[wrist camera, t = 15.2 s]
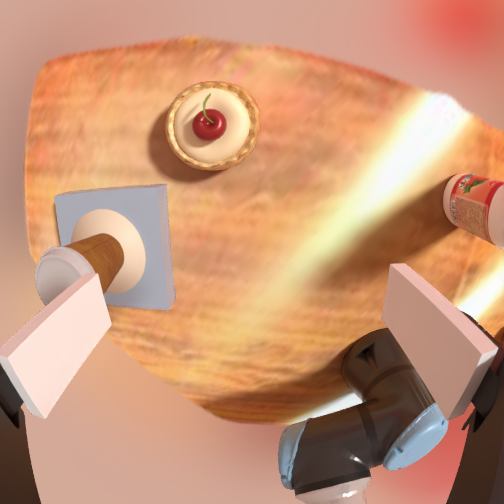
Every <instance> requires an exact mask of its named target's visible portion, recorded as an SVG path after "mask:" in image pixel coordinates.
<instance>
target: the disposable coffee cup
mask: <svg viewBox="0 0 504 504" xmlns="http://www.w3.org/2000/svg"><path fill="white" fill-rule="evenodd" d="M123 263H124V252H123V249H122V247H121V245H120V243H119V242H118V241H117V239H116V238H114V237H113V236H111V235H109V234H106V233H100V234H97V235H94V236H91V237H88V238H85V239H82V240H80V241H77V242H74V243H71V244H69V245H66V246H63V247H61V246H57V247H52V248H50V249H48V250H47V251H45V252H44V253H43V255H42V256H41V258H40V261H39V262H38V264H37V267H36V270H35V282H36V287H37V291H38V293H39V295H40V297H41V300H42V301H43V303H44V304H45V306H47V305H48V304H49V303H50V302H51V301H53V300H54V299H55V298H56V297H57V296H58V295H60V294H61V293H62V292H63V291H64V290H66V289H67V288H68V287H69V286H71V285H72V284H73V283H74V282H75V281H77V280H78V279H79V278H80V277H82V276H83V275H84V274H86V273H98V275H99V280H100V284H101V288H102V292H103V295H104V294H105V292H106V291H107V289H108V288H109V286H110V284H111V283H112V281H113V280H114V278H115V277H116V275H117V274H118V272H119V270H120V269H121V268H122V266H123Z"/></svg>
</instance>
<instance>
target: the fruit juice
mask: <svg viewBox="0 0 504 504" xmlns="http://www.w3.org/2000/svg"><path fill="white" fill-rule="evenodd" d="M443 208H444V212H445V214H446V216H447V218H448V220H449V221H450V222H451V223H452V224H454V225H455V226H457V227H459V228H461V229H463V230H465V231H468V232H470V233H472V234H474V235H476V236H478V237H480V238H482V239H484V240H486V241H488V242H489V243H491V244H493V245H495V246H497V247H498V248H500V249H503V250H504V182H502V181H498V180H493V179H489V178H485V177H480V176H475V175H471V174H465V173H463V174H457V175H455V176H453V177H452V178H451V179H450V180H449V182H448V183H447V185H446V187H445V190H444V194H443Z"/></svg>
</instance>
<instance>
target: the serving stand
mask: <svg viewBox="0 0 504 504" xmlns="http://www.w3.org/2000/svg"><path fill="white" fill-rule="evenodd" d="M54 198H55V207H56V216H57V223H58V230H59V236H60V242H61V247H63V246H66V245H69V244H71V243H74V242H77V241H80V240H82V239H85V238H88V237H91V236H94V235H97V234H100V233H106V234H109V235H111V236H113V237H114V238H116V239H117V241H118V242H119V243H120V245H121V247H122V249H123V252H124V263H123V266H122V268H121V269H120V270H119V272H118V274H117V275H116V277H115V278H114V280H113V281H112V283H111V284H110V286H109V288H108V289H107V291H106V292H105V294H104V299H105V303H106V305H110V306H120V307H132V308H145V309H159V310H170V308H171V306H172V304H173V302H174V300H175V298H176V296H175V288H174V278H173V269H172V258H171V247H170V234H169V220H168V202H167V184H156V185H139V186H124V187H111V188H100V189H90V190H80V191H71V192H66V193H63V194H59V195H56V196H54Z"/></svg>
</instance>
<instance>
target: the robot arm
mask: <svg viewBox="0 0 504 504" xmlns="http://www.w3.org/2000/svg"><path fill="white" fill-rule="evenodd" d="M381 318H382V320H383V321H384V323H385V324H386V325H387V327H388V328H386V329H381V330H377V331H374V332H372V333H370V334H368V335H366V336H364V337H363V338H361V339H360V340H359V341H357V342H356V343H355V344H354V345H353V346H352V347H351V348H350V349H349V351H348V352H347V354H346V355H345V357H344V359H343V362H342V374H343V377H344V380H345V382H346V384H347V386H348V387H349V388H350V389H352V391H353V392H354V393H355V394H356V395H357V396H358V397H359V398H360V399H361V400H362V402H363V403H361V404H358V405H355V406H352V407H349V408H346V409H343V410H340V411H337V412H334V413H330V414H327V415H324V416H320V417H316V418H308V419H307V420H305V421H302V422H299V423H296V424H292V425H290V426H288V427H287V428H286V429H285V430H284V431H283V433H282V435H281V438H280V442H279V451H278V463H279V472H280V474H281V481H282V484H283V486H284V487H285V488H287V489H290V490H293V489H294V490H295V496H296V498H297V499H299V500H301V501H302V502H304V503H306V504H367V501H366V497H365V492H364V490H365V488H366V486H367V485H368V483H369V482H370V480H371V479H372V478H371V474H370V470H369V469H370V468H373V467H376V466H378V465H381V464H383V466H384V467H385V468H386V469H387V470H390V471H393V470H396V469H401V468H404V467H406V466H408V465H410V464H412V463H414V462H416V461H417V460H419V459H420V458H422V457H423V456H424V455H426V454H427V453H428V452H429V451H431V450H432V449H433V448H434V447H435V446H436V445H437V444H438V443H439V442H440V440H441V439H442V438H443V436H444V435H445V433H446V431H447V428H448V420H450V419H453V418H455V417H457V416H460V415H462V414H464V412H465V411H466V409H467V407H468V405H469V404H470V402H472V403H473V404H474V406H475V409H474V410H473V412H472V413H471V415H470V416H469V418H468V419H467V421H466V422H465V424H464V426H463V428H462V430H465V428H466V427H467V425H468V424H469V429H468V434H467V438H466V443H465V447H464V451H463V455H462V458H461V462H460V466H459V468H458V472H457V475H456V478H455V481H454V484H453V487H452V490H451V492H450V495H449V498H448V500H447V503H446V504H504V348H503V347H502V346H501V345H500V344H499V343H498V342H497V341H496V340H495V339H494V338H493V337H492V336H491V335H490V334H489V333H488V332H487V331H485V330H484V328H483V327H482V326H481V325H478V322H476V321H475V320H474V319H473V318H472V317H471V316H470V315H468V314H466V313H464V312H462V311H460V310H459V309H458V308H456V307H455V306H454V305H453V304H452V303H451V302H450V301H449V300H448V299H446V298H445V297H444V296H443V295H442V294H441V293H440V292H438V291H437V290H436V289H435V288H434V287H433V286H432V285H430V284H429V283H428V282H427V281H426V280H424V279H423V278H422V277H421V276H420V275H418V274H417V273H416V272H415V271H414V270H412V269H411V268H410V267H409V266H407V265H406V264H405V263H398V264H390V269H389V276H388V283H387V289H386V295H385V301H384V307H383V312H382V317H381ZM111 325H112V323H111V320H110V317H109V313H108V310H107V306H106V303H105V299H104V295H103V292H102V288H101V284H100V280H99V275H98V273H86V274H84V275H83V276H82V277H80V278H79V279H78V280H77V281H75V282H74V283H73V284H72V285H71V286H69V287H68V288H67V289H66V290H64V291H63V292H62V293H61V294H60V295H58V296H57V297H56V298H55V299H54V300H53V301H51V302H50V303H49V304H48V305H47V306H46V307H44V308H43V309H42V310H41V311H40V312H39V313H37V314H36V316H34V317H33V318H32V319H31V320H30V321H29V322H28V323H26V324H25V325H24V326H23V327H22V328H21V329H20V330H19V331H18V332H17V333H16V334H15V335H13V336H12V337H11V338H10V339H9V340H8V341H7V342H6V343H5V344H4V345H3V346H2V347H1V348H0V504H41V501H40V498H39V495H38V491H37V487H36V483H35V479H34V474H33V470H32V465H31V460H30V454H29V448H28V441H27V435H26V427H25V415H24V412H23V410H22V409H21V405H22V403H23V402H24V403H25V405H26V406H27V408H28V409H29V411H30V412H31V414H33V415H36V416H38V417H41V418H43V419H46V417H47V416H48V414H49V413H50V411H51V409H52V408H53V406H54V405H55V403H56V402H57V400H58V399H59V397H60V395H61V394H62V393H63V391H64V390H65V388H66V387H67V385H68V384H69V382H70V381H71V379H72V378H73V377H74V375H75V374H76V372H77V371H78V369H79V368H80V366H81V365H82V364H83V362H84V361H85V360H86V358H87V357H88V355H89V354H90V353H91V351H92V350H93V349H94V347H95V346H96V345H97V343H98V342H99V341H100V339H101V338H102V337H103V335H104V334H105V333H106V331H107V330H108V329H109V327H110V326H111Z"/></svg>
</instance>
